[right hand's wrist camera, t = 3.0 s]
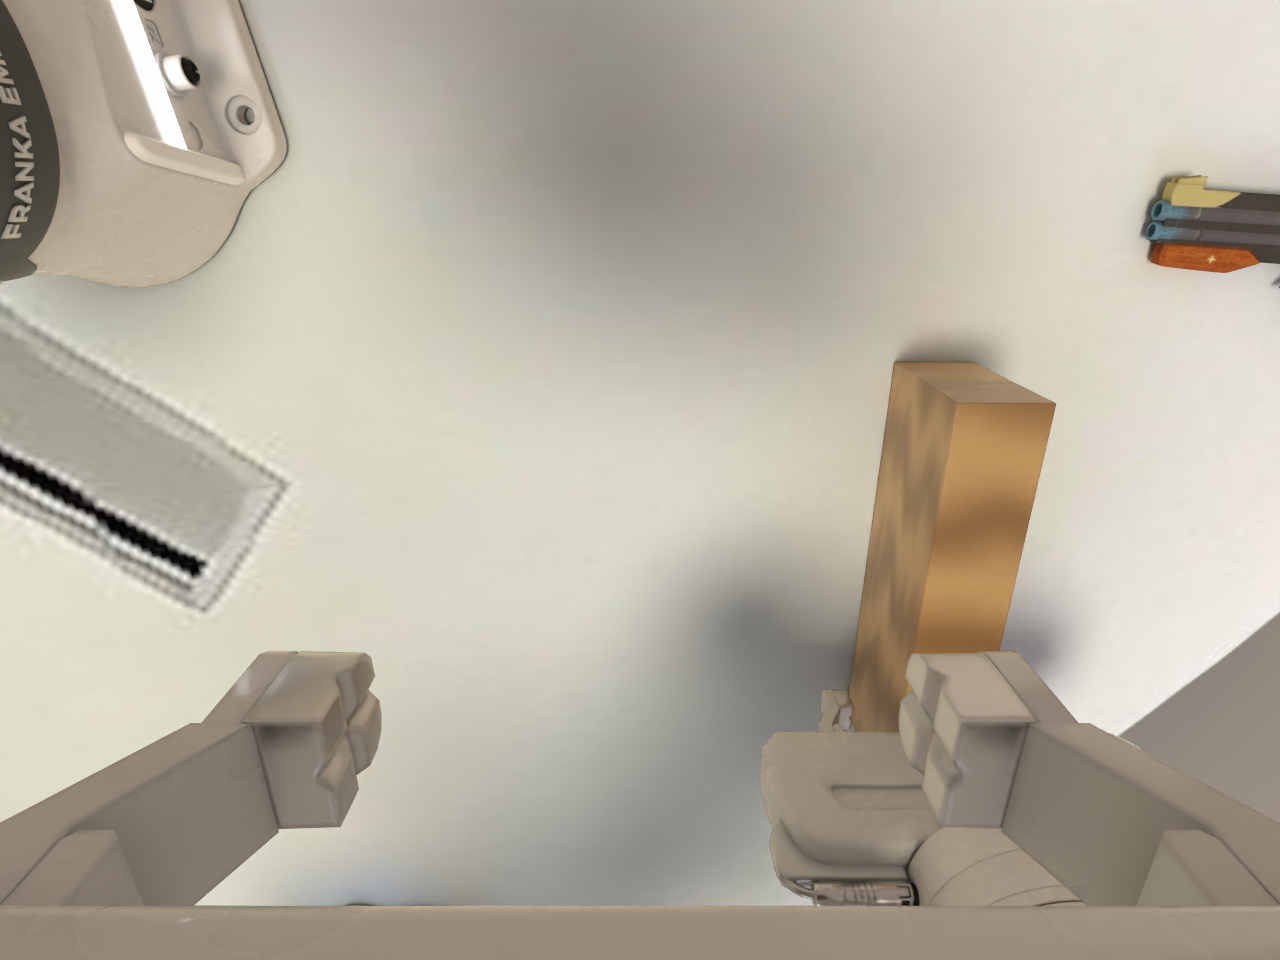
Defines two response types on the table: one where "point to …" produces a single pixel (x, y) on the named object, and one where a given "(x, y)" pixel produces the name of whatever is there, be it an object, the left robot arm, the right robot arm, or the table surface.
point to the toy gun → (1213, 227)
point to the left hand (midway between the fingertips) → (908, 698)
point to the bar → (944, 524)
